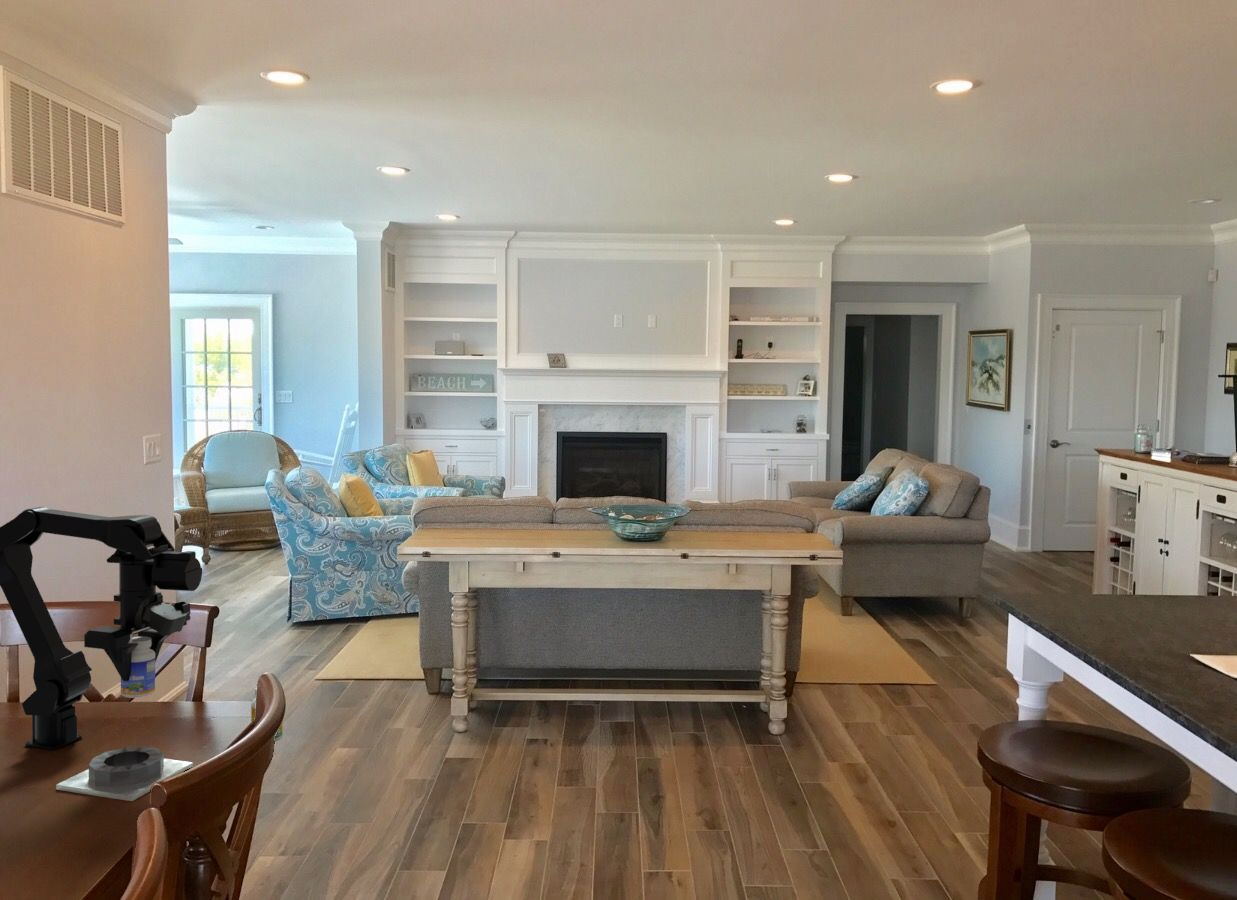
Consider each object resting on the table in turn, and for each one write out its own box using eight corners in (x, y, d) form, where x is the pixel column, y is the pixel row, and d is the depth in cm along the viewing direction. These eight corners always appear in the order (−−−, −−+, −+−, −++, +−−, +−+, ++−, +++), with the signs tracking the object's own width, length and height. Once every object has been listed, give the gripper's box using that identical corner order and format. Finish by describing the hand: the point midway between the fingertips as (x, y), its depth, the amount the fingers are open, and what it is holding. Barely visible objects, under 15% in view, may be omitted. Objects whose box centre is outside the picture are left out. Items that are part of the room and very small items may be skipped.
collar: (56, 789, 151) (56, 769, 151) (122, 757, 165) (122, 738, 164) (132, 801, 148) (132, 781, 148) (192, 767, 161) (192, 748, 161)
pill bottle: (114, 697, 166) (114, 642, 165) (131, 688, 171) (130, 634, 171) (145, 699, 166) (145, 643, 165) (161, 689, 171) (161, 635, 171)
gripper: (138, 603, 157) (139, 697, 158) (212, 581, 175) (212, 665, 176) (81, 597, 159) (81, 690, 160) (159, 577, 177) (159, 660, 178)
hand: (137, 676), depth 169 cm, fingers closed on pill bottle, 5 cm apart
